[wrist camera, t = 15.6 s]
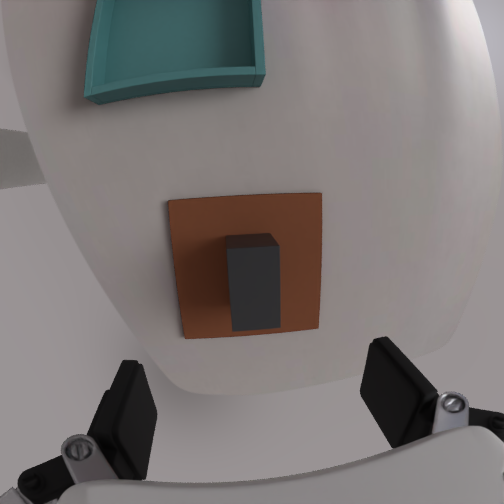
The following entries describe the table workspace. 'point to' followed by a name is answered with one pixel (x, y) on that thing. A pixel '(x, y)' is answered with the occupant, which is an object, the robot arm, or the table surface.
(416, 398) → the robot arm
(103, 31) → the bin
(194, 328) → the mat
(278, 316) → the charcoal grey block
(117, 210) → the table surface
